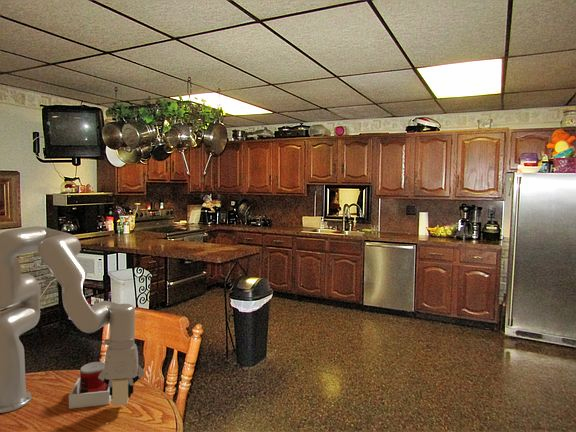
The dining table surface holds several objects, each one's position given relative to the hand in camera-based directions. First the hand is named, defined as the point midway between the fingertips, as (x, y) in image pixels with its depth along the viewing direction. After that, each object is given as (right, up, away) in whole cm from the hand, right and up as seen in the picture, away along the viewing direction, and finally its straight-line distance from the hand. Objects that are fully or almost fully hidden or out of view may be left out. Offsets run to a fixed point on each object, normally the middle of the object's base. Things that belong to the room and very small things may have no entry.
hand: (121, 395), depth 133 cm
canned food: (-13, -4, +8) cm, 16 cm away
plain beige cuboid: (0, -1, 0) cm, 1 cm away
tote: (-13, -4, +8) cm, 16 cm away
